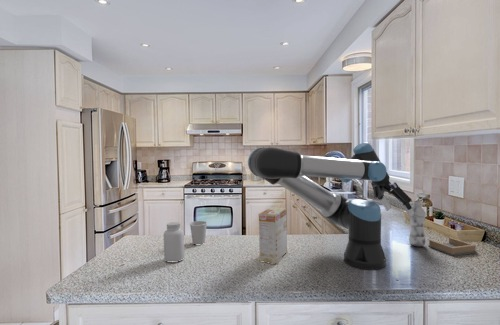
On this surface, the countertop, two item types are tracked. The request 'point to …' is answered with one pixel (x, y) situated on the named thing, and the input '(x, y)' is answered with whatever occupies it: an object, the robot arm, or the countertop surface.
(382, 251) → the robot arm
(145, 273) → the countertop surface
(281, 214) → the coffeecake box
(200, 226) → the dixie cup
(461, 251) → the tray
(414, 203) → the silver metal bottle
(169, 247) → the pill bottle
